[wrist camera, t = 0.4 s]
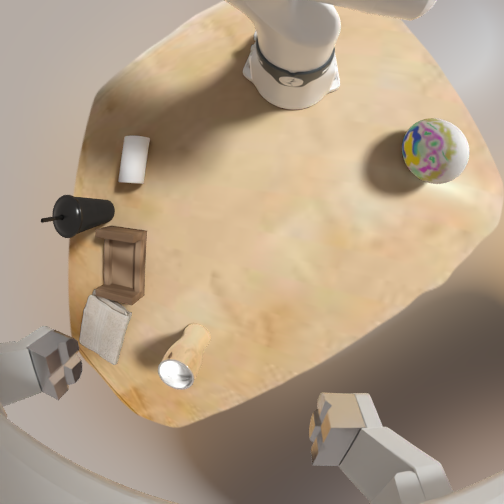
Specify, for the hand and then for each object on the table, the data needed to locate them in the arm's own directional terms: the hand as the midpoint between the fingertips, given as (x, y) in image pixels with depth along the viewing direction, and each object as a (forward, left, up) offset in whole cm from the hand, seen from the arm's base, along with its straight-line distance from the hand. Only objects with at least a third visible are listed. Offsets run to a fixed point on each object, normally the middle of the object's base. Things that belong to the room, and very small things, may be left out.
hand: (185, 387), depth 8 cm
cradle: (+11, -27, -46) cm, 54 cm away
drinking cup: (+1, -33, -46) cm, 57 cm away
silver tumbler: (+25, -10, -46) cm, 53 cm away
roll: (-10, -26, -43) cm, 51 cm away
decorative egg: (-20, +30, -46) cm, 58 cm away
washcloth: (+29, -34, -46) cm, 64 cm away
